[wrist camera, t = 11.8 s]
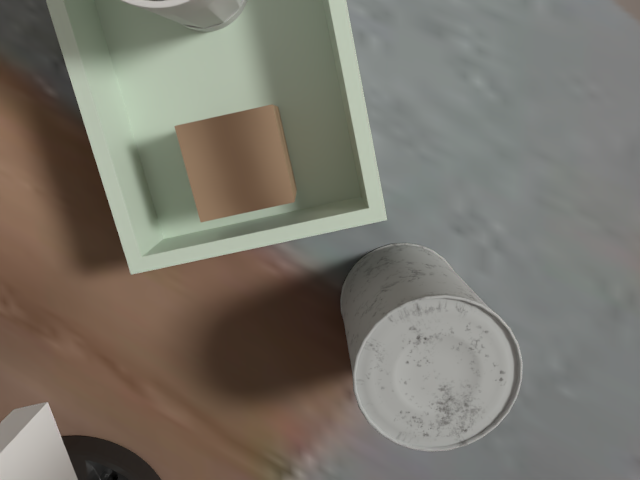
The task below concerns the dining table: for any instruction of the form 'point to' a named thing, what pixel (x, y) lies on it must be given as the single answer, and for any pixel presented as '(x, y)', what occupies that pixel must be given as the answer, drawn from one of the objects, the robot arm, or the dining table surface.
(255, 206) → the walnut block
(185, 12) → the cup
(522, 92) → the dining table surface
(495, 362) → the white can
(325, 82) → the tote
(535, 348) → the dining table surface
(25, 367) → the dining table surface
